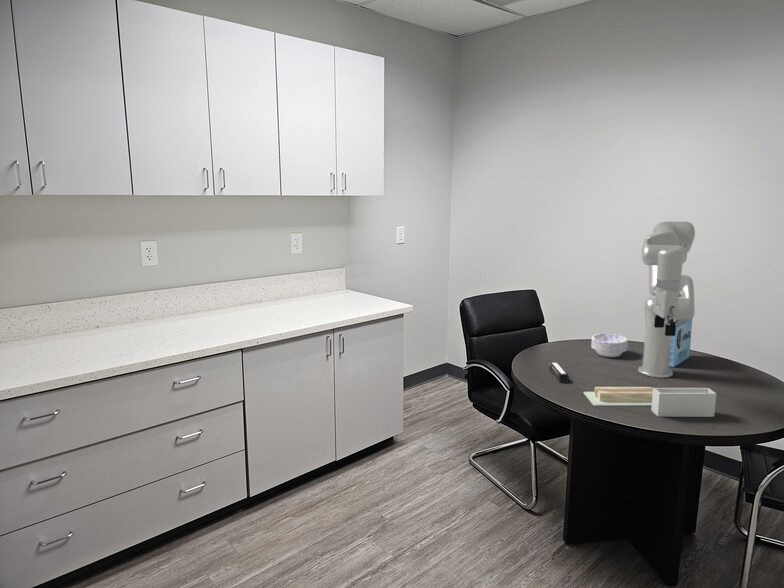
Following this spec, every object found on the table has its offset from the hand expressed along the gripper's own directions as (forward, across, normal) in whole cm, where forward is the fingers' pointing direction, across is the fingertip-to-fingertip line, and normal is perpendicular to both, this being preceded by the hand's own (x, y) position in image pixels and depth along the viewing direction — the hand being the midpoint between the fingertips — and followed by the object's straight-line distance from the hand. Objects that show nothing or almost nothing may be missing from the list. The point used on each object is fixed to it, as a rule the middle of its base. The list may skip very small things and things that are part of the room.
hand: (664, 331), depth 187 cm
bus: (+25, -20, -31) cm, 45 cm away
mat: (+24, +6, -14) cm, 28 cm away
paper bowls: (+26, -48, -4) cm, 55 cm away
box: (+23, +17, +1) cm, 29 cm away
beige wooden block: (+23, +5, -13) cm, 27 cm away
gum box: (+26, -39, +22) cm, 52 cm away
